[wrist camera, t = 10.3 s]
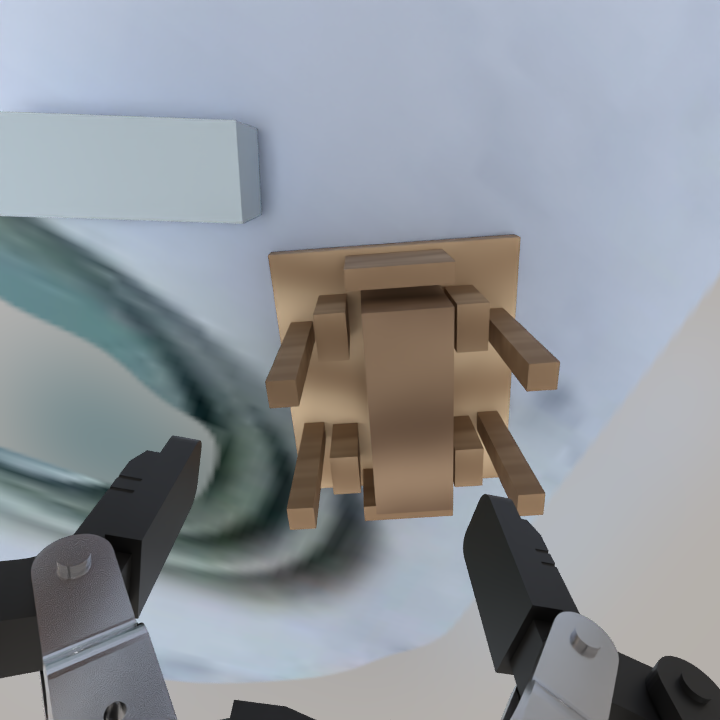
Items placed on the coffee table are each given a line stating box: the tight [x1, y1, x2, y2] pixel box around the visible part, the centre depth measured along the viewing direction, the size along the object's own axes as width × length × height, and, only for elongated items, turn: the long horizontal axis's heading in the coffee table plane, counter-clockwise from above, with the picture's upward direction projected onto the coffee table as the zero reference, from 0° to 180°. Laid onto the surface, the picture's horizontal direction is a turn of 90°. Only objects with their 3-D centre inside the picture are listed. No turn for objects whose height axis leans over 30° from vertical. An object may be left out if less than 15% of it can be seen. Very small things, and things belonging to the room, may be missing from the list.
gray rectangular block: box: [0, 111, 262, 224], centre depth 21 cm, size 4×11×4 cm, turn 88°
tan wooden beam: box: [361, 285, 454, 514], centre depth 24 cm, size 11×4×5 cm, turn 4°
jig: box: [265, 234, 560, 530], centre depth 23 cm, size 15×13×8 cm
